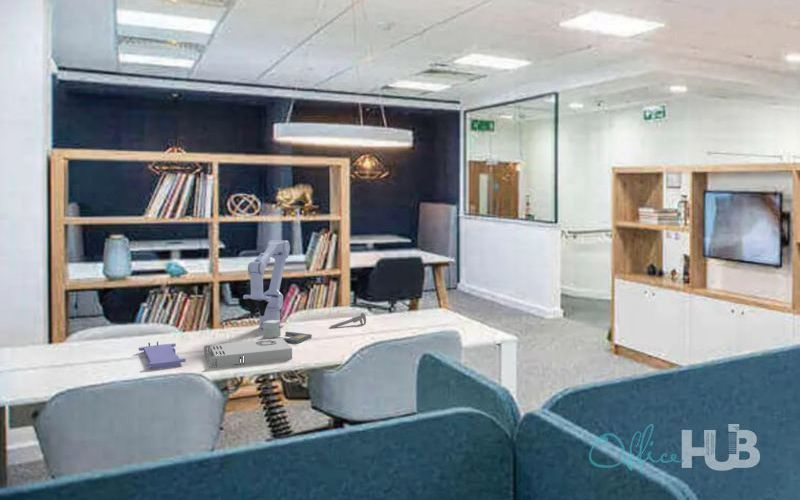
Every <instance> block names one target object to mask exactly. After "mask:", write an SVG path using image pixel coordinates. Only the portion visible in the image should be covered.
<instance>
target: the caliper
mask: <svg viewBox="0 0 800 500" xmlns="http://www.w3.org/2000/svg"><path fill="white" fill-rule="evenodd" d="M357 322H359V323H360V324H361V325H363V324H365V325H366V324H367V317H366V314H365V313H364V311H363V312H360V314H359V315H357V316H354V317H352V318H350V319H346V320H343V321H340V322H338V323H334V324H331V325H330V326H329V327H328V329H335V328H338V327H342V326H345V325H347V324H350V323H353V324H354V323H355V324H356V323H357Z"/></svg>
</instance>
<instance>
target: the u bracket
mask: <svg viewBox="0 0 800 500" xmlns="http://www.w3.org/2000/svg"><path fill="white" fill-rule="evenodd" d="M284 334H285V336H287V337H281V336H278V337H272V338H271V339H276V338H283V339H284V341H285V342H286V343H287V344H288V343H289V344H295V345H296V344H300V343H301V342H305V341H308V340H310V339H312V336H313V335H312V334H311V333H301V332H294V331H285V333H284ZM288 337H289V338H288Z"/></svg>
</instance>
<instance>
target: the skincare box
mask: <svg viewBox="0 0 800 500" xmlns="http://www.w3.org/2000/svg"><path fill="white" fill-rule="evenodd" d="M280 325H281V320H268V321H265V322H263V328H262V330H263V331H262V336H263V337H262V338H263V339H264V338H266V339H272V337H281V327H280Z"/></svg>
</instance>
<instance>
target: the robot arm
mask: <svg viewBox="0 0 800 500" xmlns="http://www.w3.org/2000/svg"><path fill="white" fill-rule="evenodd" d="M290 250H291V245H290V242H289V240H280V239H277V240H275V239H269V241H268V242H267V247H266V249H265V251H264V252H260V254H259V255H258V256H257V257H256V258H255V259H254V260H253V261H250V262H249V263H248V266H247V272H248V276H249V278H250V279H249V280H250V294H244V295H243V297H242V298H243V300H245V304H246V305H247V307H248V309H249V312H250V316H254V315H256V303H257V304H258V306H259V326H258V328H260V329H263V322H265V321H268V320H280V319H281V318H280V317H281V316H280V311H281V309H282V308H283V306H284V295H283V294H282V293H281V292H280V289H281V283H282V278H283V274H284V269H285V264H286V260H287V259H288V258H289V255H290V252H291V251H290ZM271 258H272V259H274V265H273V269H272V274H271V278H270V284H269V288H268V290H266V291H264V274H265V270H266V268H267V265H268V264H269V263H270V262H271ZM257 301H258V302H257ZM280 321H281V320H280ZM283 327H284V325H283V324H280V328H283Z"/></svg>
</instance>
